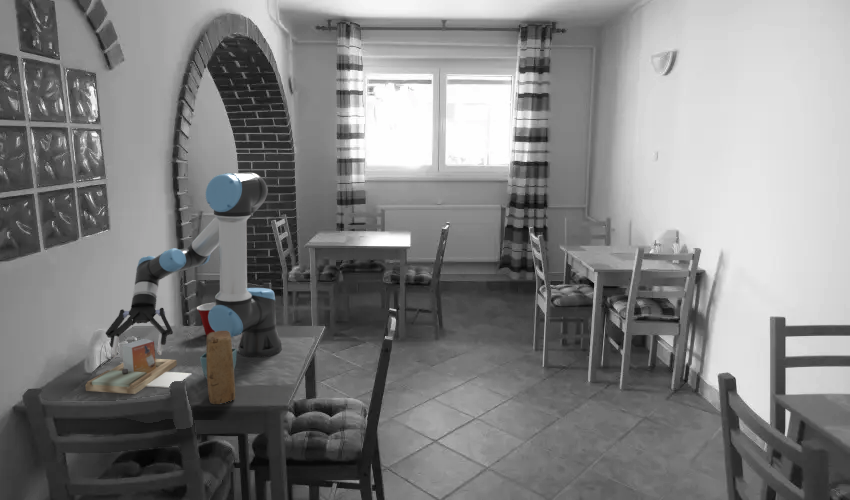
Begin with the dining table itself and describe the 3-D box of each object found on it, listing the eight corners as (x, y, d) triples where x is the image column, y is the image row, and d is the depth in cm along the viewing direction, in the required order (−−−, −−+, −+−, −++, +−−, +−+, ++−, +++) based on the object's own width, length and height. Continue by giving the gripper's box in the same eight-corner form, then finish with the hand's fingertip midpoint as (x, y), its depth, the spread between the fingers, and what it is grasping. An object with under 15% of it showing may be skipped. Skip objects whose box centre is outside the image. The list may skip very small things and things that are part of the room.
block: (236, 404, 168) (232, 337, 164) (208, 407, 165) (204, 340, 162) (234, 389, 178) (231, 326, 174) (208, 392, 175) (204, 329, 172)
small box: (133, 379, 185) (131, 347, 183) (123, 375, 188) (121, 344, 186) (157, 371, 192) (154, 340, 190) (146, 367, 194) (144, 337, 193)
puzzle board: (176, 365, 197) (175, 353, 196) (135, 393, 174) (133, 380, 173) (132, 363, 198) (131, 351, 198) (86, 390, 176) (84, 377, 175)
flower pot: (212, 374, 190) (210, 347, 188) (238, 374, 189) (237, 348, 188) (201, 384, 181) (199, 357, 179) (229, 385, 181) (227, 358, 179)
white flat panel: (191, 374, 189) (191, 373, 189) (173, 388, 178) (173, 387, 178) (166, 372, 190) (165, 371, 190) (146, 386, 179) (145, 385, 179)
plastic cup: (206, 329, 235) (205, 300, 233) (232, 330, 234) (230, 301, 232) (192, 337, 225) (190, 307, 223) (219, 339, 223) (217, 309, 221)
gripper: (185, 301, 206) (179, 356, 195) (108, 304, 201) (98, 361, 189) (181, 290, 200) (175, 347, 188) (102, 294, 195) (91, 352, 183)
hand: (136, 354), depth 189 cm, fingers open, 13 cm apart
